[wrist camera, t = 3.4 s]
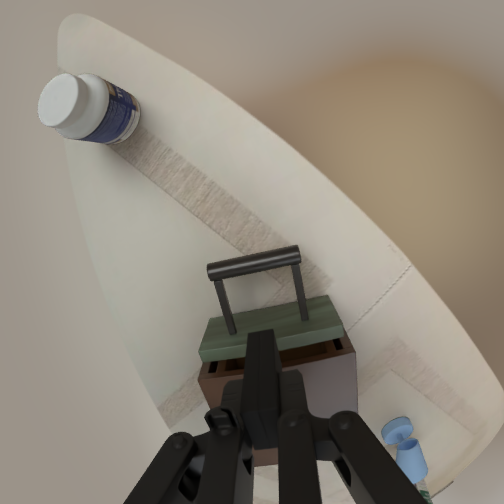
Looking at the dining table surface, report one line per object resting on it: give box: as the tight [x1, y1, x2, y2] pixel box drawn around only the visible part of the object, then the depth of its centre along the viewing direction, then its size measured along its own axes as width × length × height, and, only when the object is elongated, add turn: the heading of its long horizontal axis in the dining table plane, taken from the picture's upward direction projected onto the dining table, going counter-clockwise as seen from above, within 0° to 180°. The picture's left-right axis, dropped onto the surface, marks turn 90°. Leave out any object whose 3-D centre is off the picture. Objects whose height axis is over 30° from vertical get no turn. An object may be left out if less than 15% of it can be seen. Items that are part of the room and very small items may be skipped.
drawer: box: [198, 245, 344, 372], centre depth 25 cm, size 19×11×6 cm, turn 13°
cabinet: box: [198, 327, 358, 467], centre depth 26 cm, size 14×13×8 cm
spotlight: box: [382, 417, 428, 484], centre depth 28 cm, size 5×10×7 cm
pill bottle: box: [38, 73, 140, 144], centre depth 19 cm, size 5×5×10 cm
